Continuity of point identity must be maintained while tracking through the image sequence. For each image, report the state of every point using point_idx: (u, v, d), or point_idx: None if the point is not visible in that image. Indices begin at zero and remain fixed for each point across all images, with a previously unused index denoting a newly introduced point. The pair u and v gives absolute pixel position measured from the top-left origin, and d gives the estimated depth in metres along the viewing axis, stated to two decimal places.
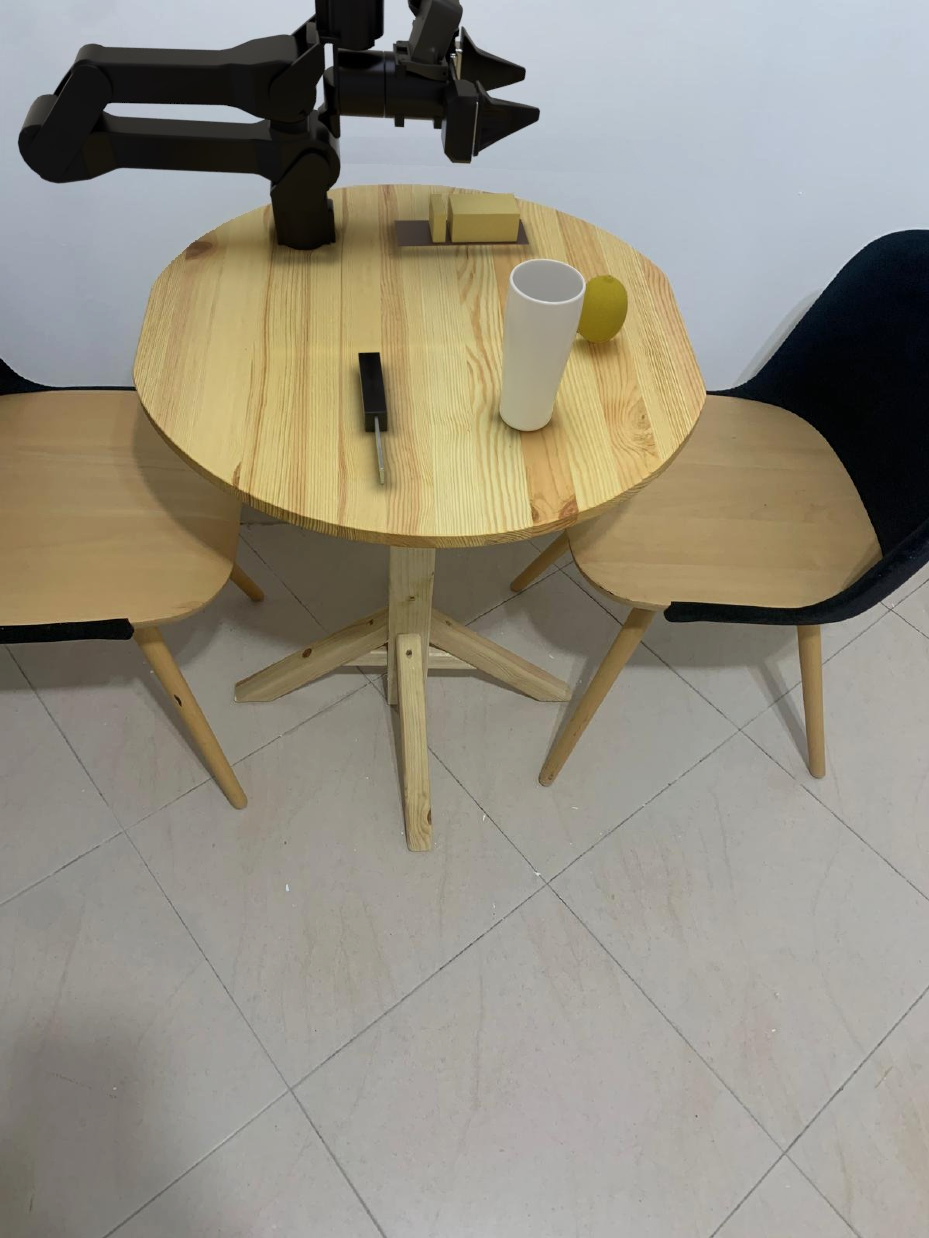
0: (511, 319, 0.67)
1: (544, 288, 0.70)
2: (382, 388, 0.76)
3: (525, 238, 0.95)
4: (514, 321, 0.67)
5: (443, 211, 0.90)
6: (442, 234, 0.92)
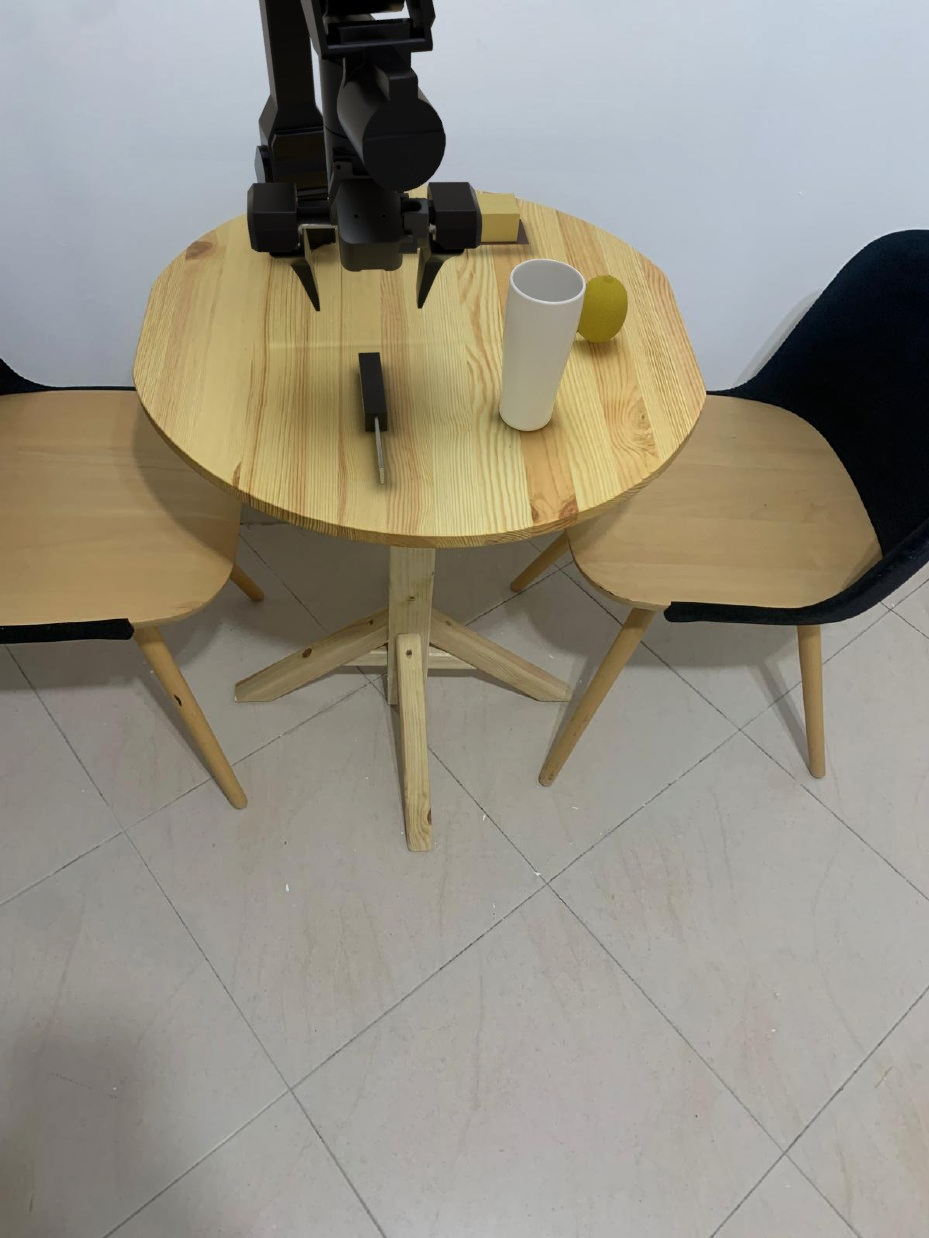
0: (511, 319, 0.67)
1: (544, 288, 0.70)
2: (382, 388, 0.76)
3: (525, 238, 0.95)
4: (514, 321, 0.67)
5: None
6: None
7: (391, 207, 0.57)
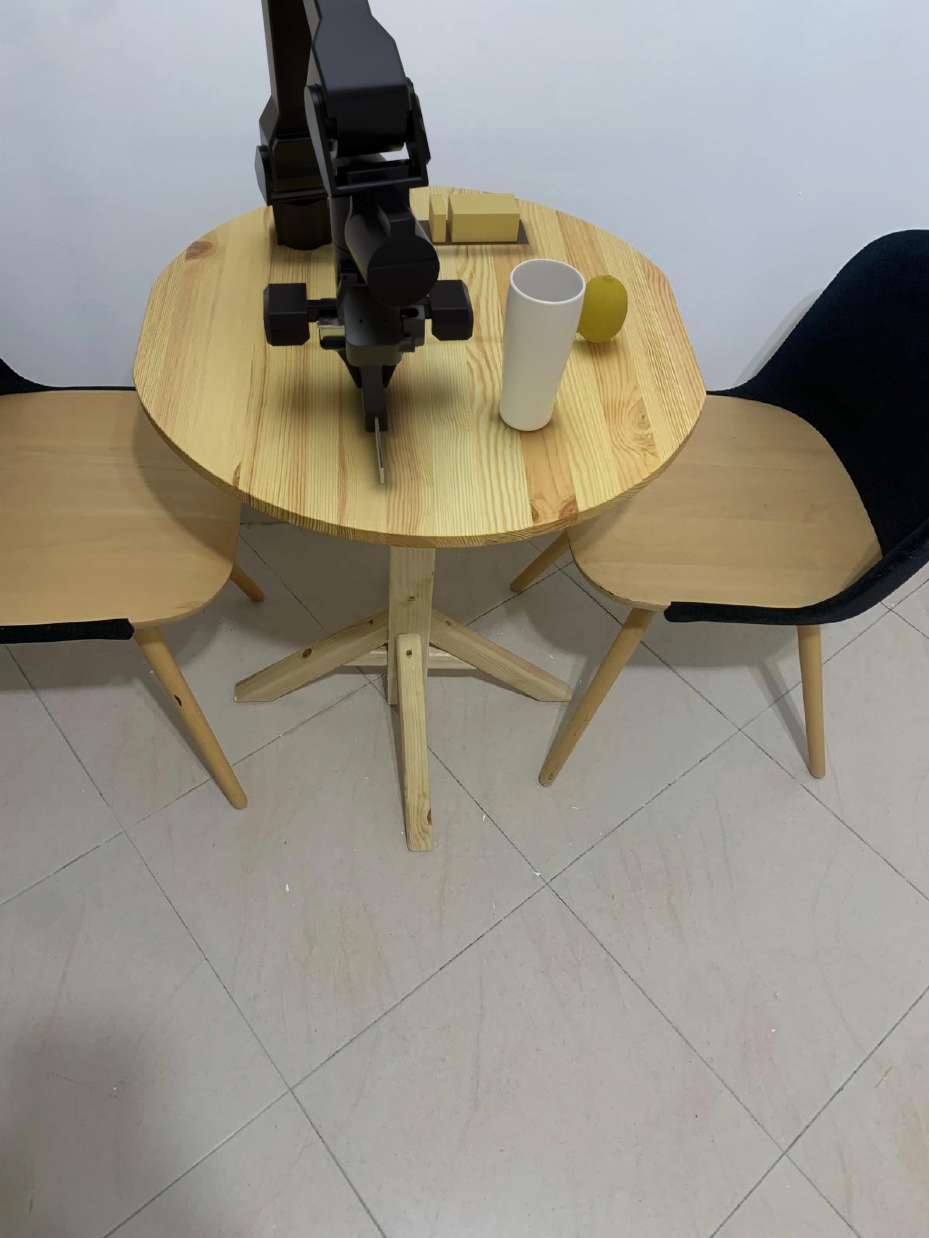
0: (511, 319, 0.67)
1: (544, 288, 0.70)
2: (382, 388, 0.76)
3: (525, 238, 0.95)
4: (514, 321, 0.67)
5: (443, 211, 0.90)
6: (442, 234, 0.92)
7: (392, 312, 0.65)
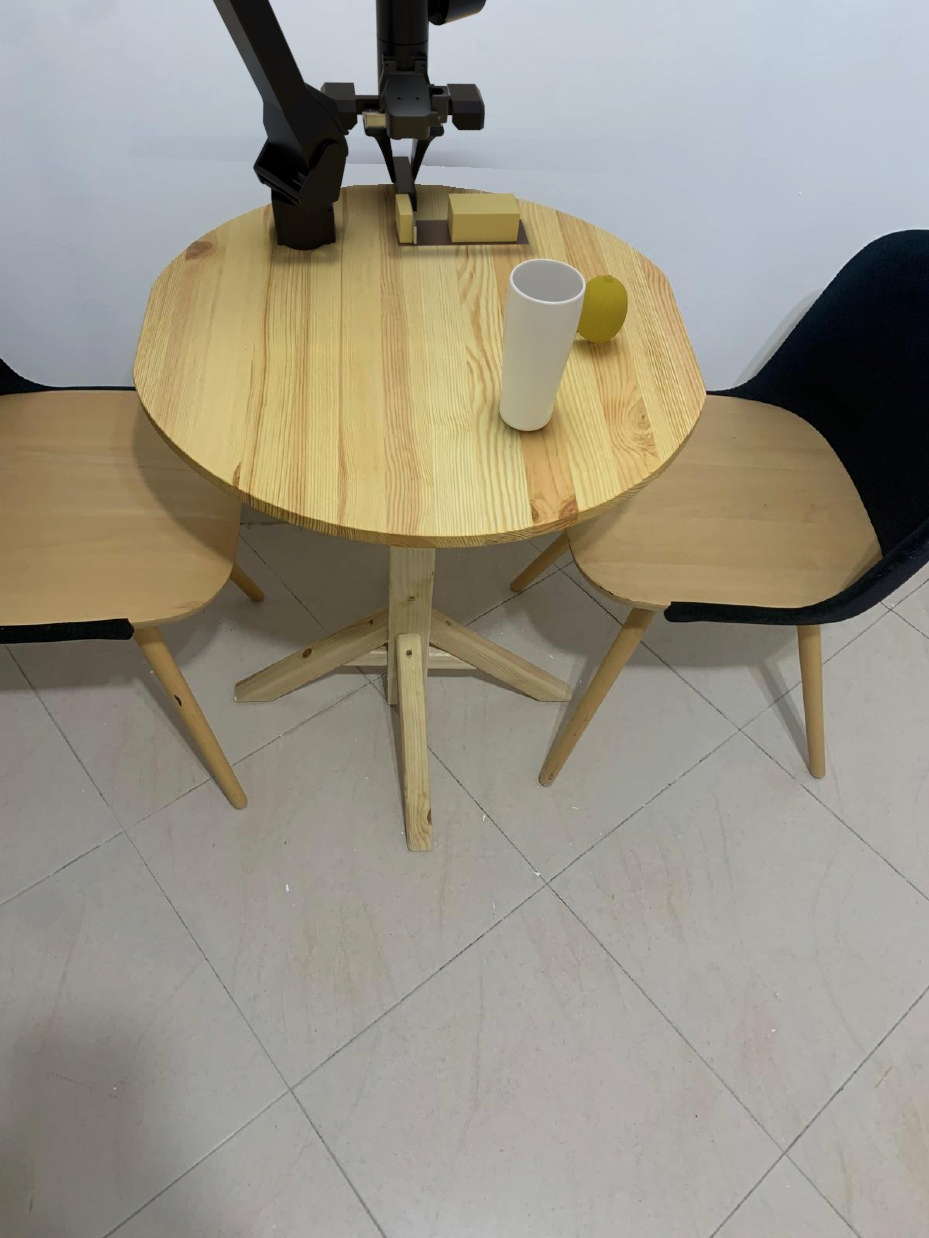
0: (511, 319, 0.67)
1: (544, 288, 0.70)
2: (412, 178, 0.95)
3: (525, 238, 0.95)
4: (514, 321, 0.67)
5: (409, 212, 0.90)
6: (409, 234, 0.91)
7: (422, 93, 0.84)
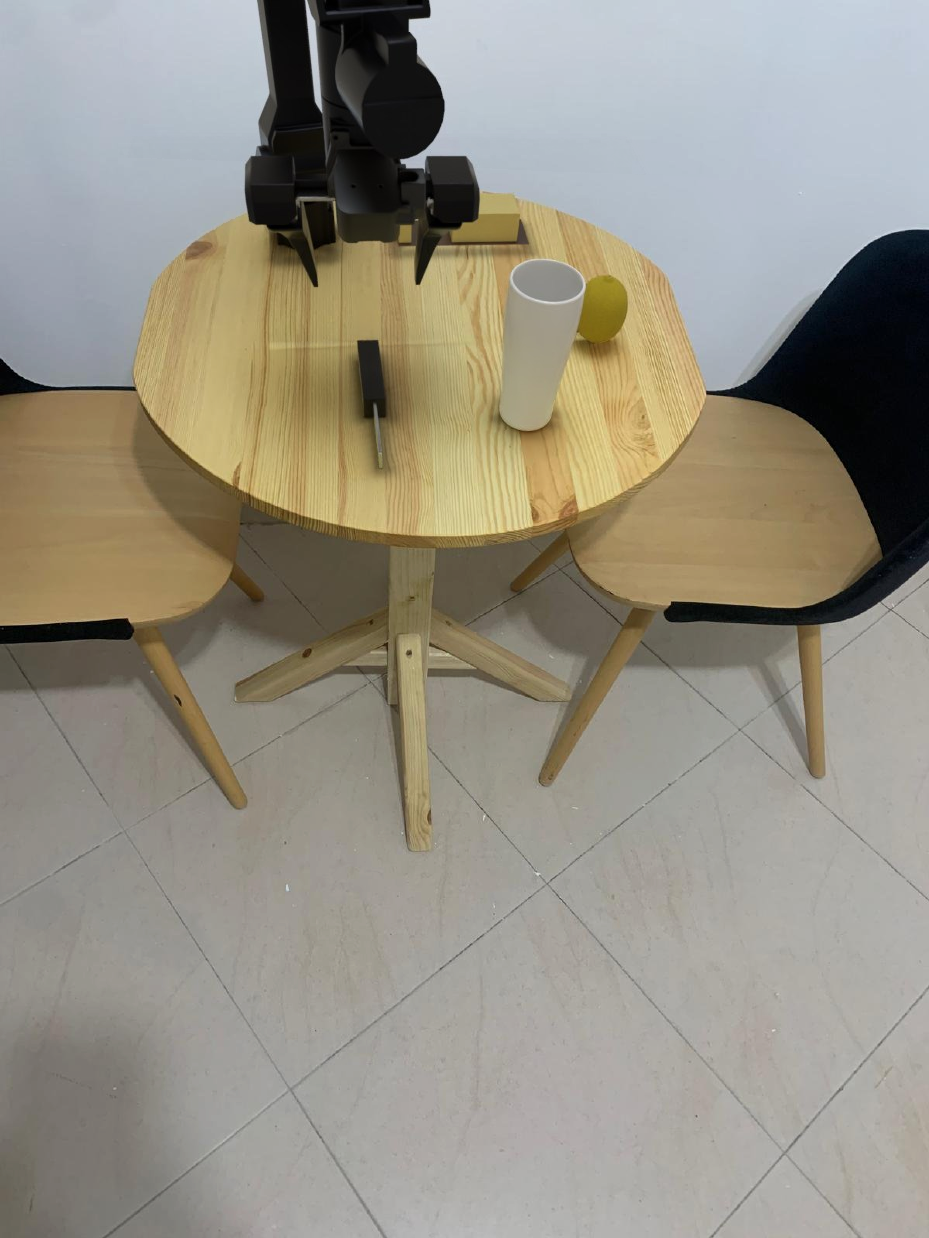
0: (511, 319, 0.67)
1: (544, 288, 0.70)
2: (381, 375, 0.77)
3: (525, 238, 0.95)
4: (514, 321, 0.67)
5: None
6: (408, 234, 0.91)
7: (388, 178, 0.58)
